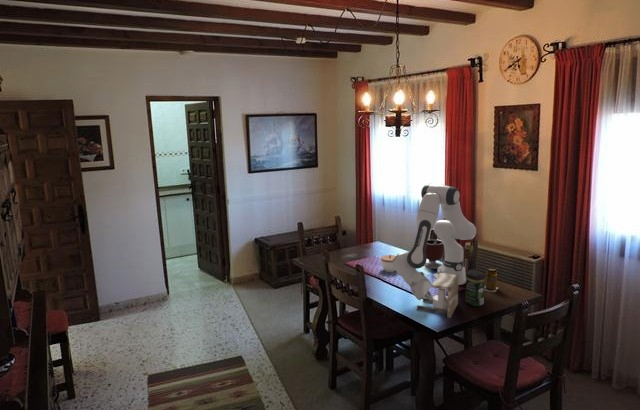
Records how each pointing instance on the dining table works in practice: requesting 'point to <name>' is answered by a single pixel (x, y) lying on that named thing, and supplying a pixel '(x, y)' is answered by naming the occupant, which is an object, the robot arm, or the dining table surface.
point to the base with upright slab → (440, 300)
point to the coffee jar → (474, 288)
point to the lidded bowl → (387, 263)
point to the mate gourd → (434, 253)
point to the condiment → (491, 280)
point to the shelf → (451, 285)
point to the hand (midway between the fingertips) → (432, 299)
